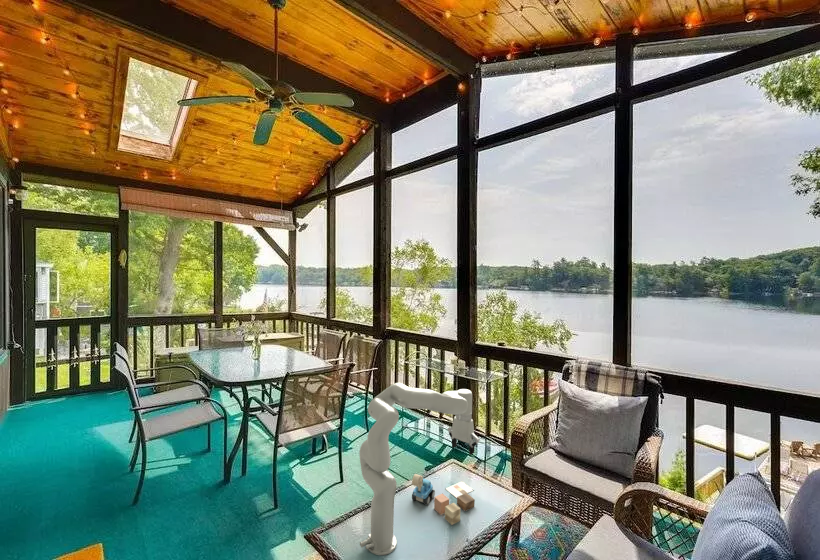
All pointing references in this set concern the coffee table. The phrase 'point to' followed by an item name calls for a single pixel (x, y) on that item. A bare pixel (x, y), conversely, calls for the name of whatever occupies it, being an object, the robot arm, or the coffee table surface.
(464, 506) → the walnut base block
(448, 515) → the maple block
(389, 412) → the robot arm
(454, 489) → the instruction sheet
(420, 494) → the toy excavator
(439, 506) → the terracotta block
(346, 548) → the coffee table surface
